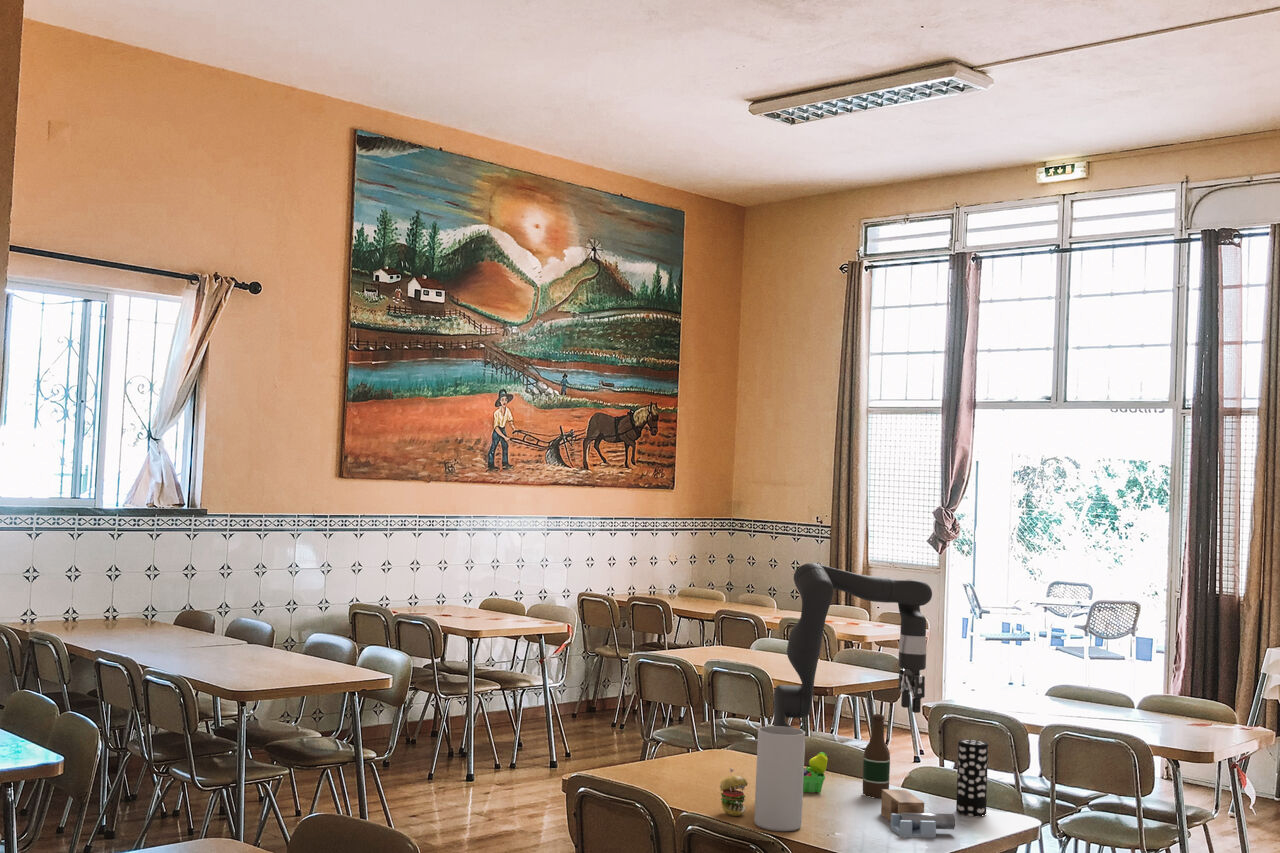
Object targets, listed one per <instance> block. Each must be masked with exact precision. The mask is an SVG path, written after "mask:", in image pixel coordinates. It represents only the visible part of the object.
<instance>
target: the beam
mask: <svg viewBox="0 0 1280 853" xmlns="http://www.w3.org/2000/svg"><path fill="white" fill-rule="evenodd" d="M880 806H881V807H880V809H881V810H880V814H881V816H883V817H884V816H885V817H884V818H886V819H887V820H888V821H889V820H890V821H889V822H891V813H894V814H901V813H925V802H924V801H923V800H922V799H919V798H918V797H917V796H916V795H915V794H912V793H911V792H909V791H908V790H907V789H890V788H889V789H882V798H881V805H880Z"/></svg>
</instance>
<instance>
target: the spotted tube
mask: <svg viewBox="0 0 1280 853" xmlns="http://www.w3.org/2000/svg"><path fill="white" fill-rule="evenodd" d="M957 742H958V744H957V745H958V746H957V768H956V770H957V772H956V773H957V775H956V777H957V778H956V805H955V806H956V809H955V810H956V811H957V812H956V813H958V814H960V815H963V814H964V815H963V816H967V815H969V816H968V817H976V816H980V817H983V816H982V815H985V814H986V815H987V802H988V801H987V800H988V799H987V798H988V797H987V796H988V795H987V794H988V768H989V767H988V766H989V765H988V764H989V762H988V760H989V743H988V742H986V741H983V740H978V739H977V740H976V739H970V738H969V739H968V738H967V739H966V738H964V739H959V740H957ZM986 815H985V816H986Z"/></svg>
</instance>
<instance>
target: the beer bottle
mask: <svg viewBox="0 0 1280 853" xmlns="http://www.w3.org/2000/svg"><path fill="white" fill-rule="evenodd" d="M871 719H872V726H871V734H870V740H869V742H868V744H866V746H865V749H864V751H863V752H864V753H863V766H862V767H863V768H862V770H863V771H862V794H865V795H866V796H865V795H864V796H865V797H867V796H870V797H869V798H871V797H874V798H873V799H882V789H890V773H891V772H890V770H891V768H890V766H891V753H890V749H889V747H888V745H887V744H886V741H885V730H884V729H885V727H884V726H885V722H884V720H885V719H886V718H885V716H884V715H883V714H881V713H880V714H879V713H875V714H872V716H871Z"/></svg>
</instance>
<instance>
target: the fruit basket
mask: <svg viewBox="0 0 1280 853" xmlns="http://www.w3.org/2000/svg"><path fill="white" fill-rule="evenodd" d="M827 756H828V755H827V754H826V753H825V752H823V751H821V752H819V753H817V755H815V756H814V757H811V758H810V759H809V761H808V765H809V766H806V767H804V779H803V793H809V792H818V793H817V794H821V791H822V788H823V784H824V781H825V778H826V775H825V774H824V773H825V772H826V771H827V767H828V765H827V764H828V760H829V759H828V757H827Z"/></svg>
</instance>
